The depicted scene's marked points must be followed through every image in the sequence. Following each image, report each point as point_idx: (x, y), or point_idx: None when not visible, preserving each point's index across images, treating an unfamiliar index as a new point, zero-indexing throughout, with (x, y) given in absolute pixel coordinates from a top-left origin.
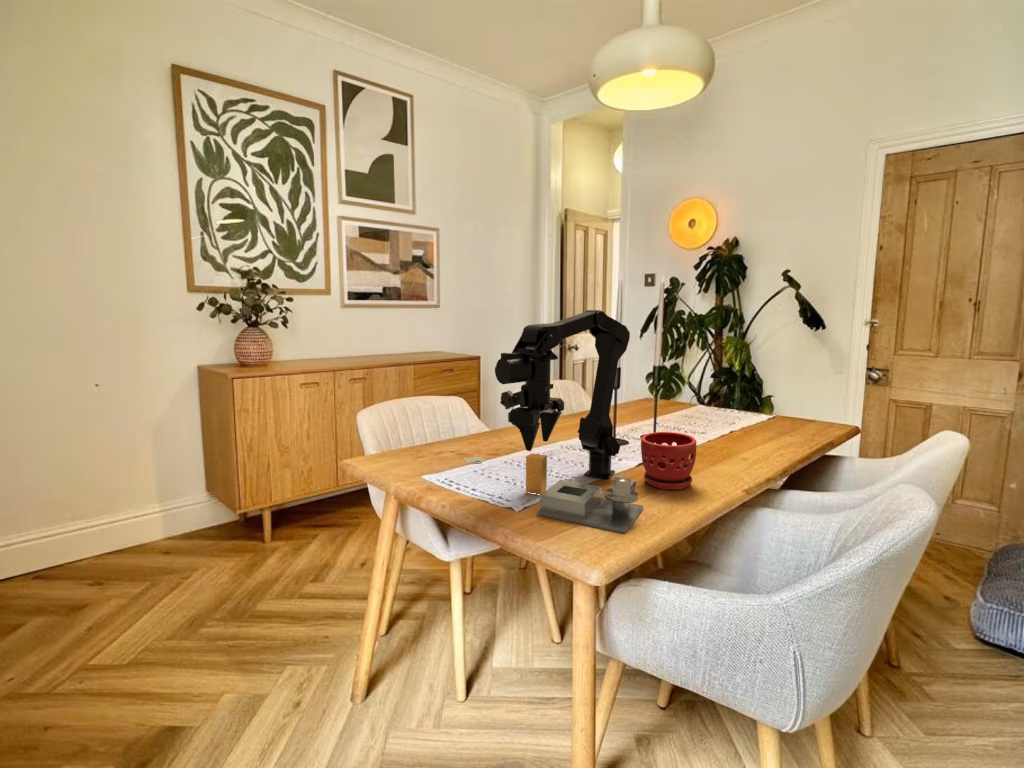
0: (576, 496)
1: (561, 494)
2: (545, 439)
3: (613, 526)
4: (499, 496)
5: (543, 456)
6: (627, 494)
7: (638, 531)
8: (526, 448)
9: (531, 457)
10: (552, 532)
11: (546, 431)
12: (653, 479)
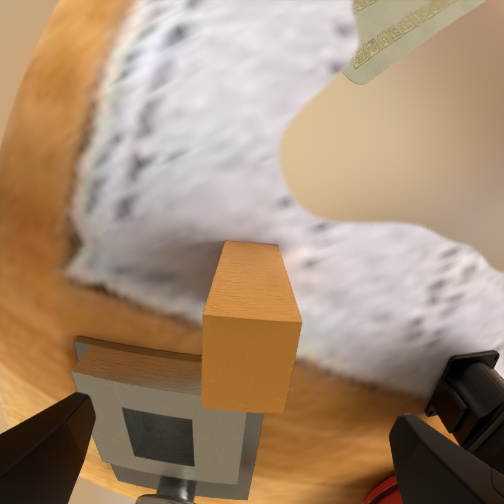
0: (127, 449)
1: (114, 420)
2: (395, 438)
3: (116, 469)
4: (146, 158)
5: (254, 405)
6: None
7: (142, 487)
8: (67, 402)
9: (203, 351)
10: (36, 379)
11: (421, 488)
12: (388, 491)
